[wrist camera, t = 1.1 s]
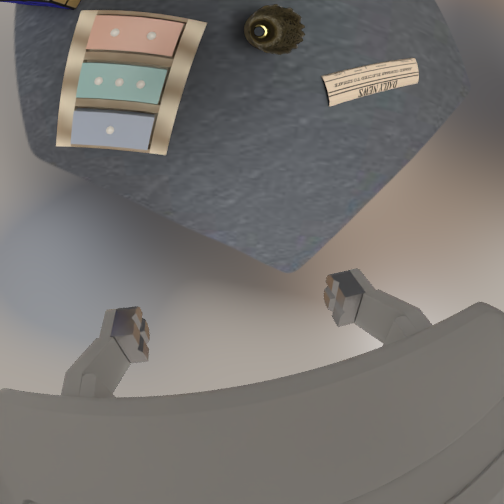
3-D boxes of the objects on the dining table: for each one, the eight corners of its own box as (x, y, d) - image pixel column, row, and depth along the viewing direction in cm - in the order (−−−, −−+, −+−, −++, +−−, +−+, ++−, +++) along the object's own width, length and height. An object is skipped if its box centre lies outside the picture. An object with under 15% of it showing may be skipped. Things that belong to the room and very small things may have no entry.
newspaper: (411, 57, 36) (417, 58, 35) (414, 86, 41) (420, 88, 40) (318, 75, 38) (324, 77, 36) (327, 110, 43) (332, 112, 41)
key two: (99, 16, 20) (95, 15, 18) (183, 24, 25) (183, 23, 23) (89, 48, 23) (85, 49, 21) (171, 56, 28) (171, 56, 26)
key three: (86, 62, 24) (82, 63, 22) (167, 69, 29) (167, 70, 27) (79, 95, 27) (75, 97, 25) (158, 101, 32) (157, 104, 30)
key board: (87, 12, 19) (81, 10, 17) (204, 24, 27) (207, 22, 25) (62, 139, 32) (56, 146, 30) (165, 148, 39) (165, 155, 37)
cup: (229, 48, 31) (243, 47, 25) (239, 6, 26) (255, -2, 21) (276, 57, 33) (298, 60, 28) (286, 17, 29) (310, 14, 23)
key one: (77, 107, 28) (73, 111, 26) (155, 114, 33) (154, 117, 31) (74, 139, 31) (70, 144, 29) (148, 145, 36) (147, 150, 34)
